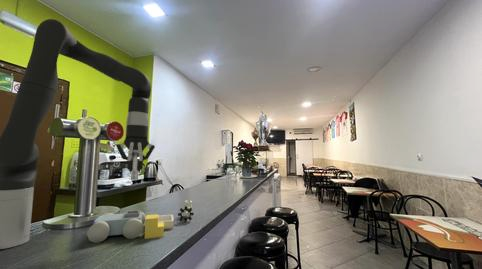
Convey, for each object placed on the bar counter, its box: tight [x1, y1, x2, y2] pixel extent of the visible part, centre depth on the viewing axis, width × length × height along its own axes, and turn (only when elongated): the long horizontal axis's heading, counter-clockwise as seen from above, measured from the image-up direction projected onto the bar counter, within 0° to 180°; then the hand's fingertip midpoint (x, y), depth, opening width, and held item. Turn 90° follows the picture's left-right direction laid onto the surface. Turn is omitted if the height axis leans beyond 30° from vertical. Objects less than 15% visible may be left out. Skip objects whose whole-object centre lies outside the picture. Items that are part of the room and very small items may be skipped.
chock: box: [144, 214, 165, 240], centre depth 76 cm, size 6×5×6 cm
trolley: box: [86, 209, 146, 244], centre depth 77 cm, size 16×13×7 cm
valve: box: [177, 200, 195, 223], centre depth 97 cm, size 7×7×12 cm
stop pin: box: [130, 150, 139, 181], centre depth 81 cm, size 3×3×11 cm
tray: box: [158, 214, 175, 231], centre depth 85 cm, size 9×9×3 cm
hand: (134, 170), depth 80 cm, fingers closed on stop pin, 2 cm apart
